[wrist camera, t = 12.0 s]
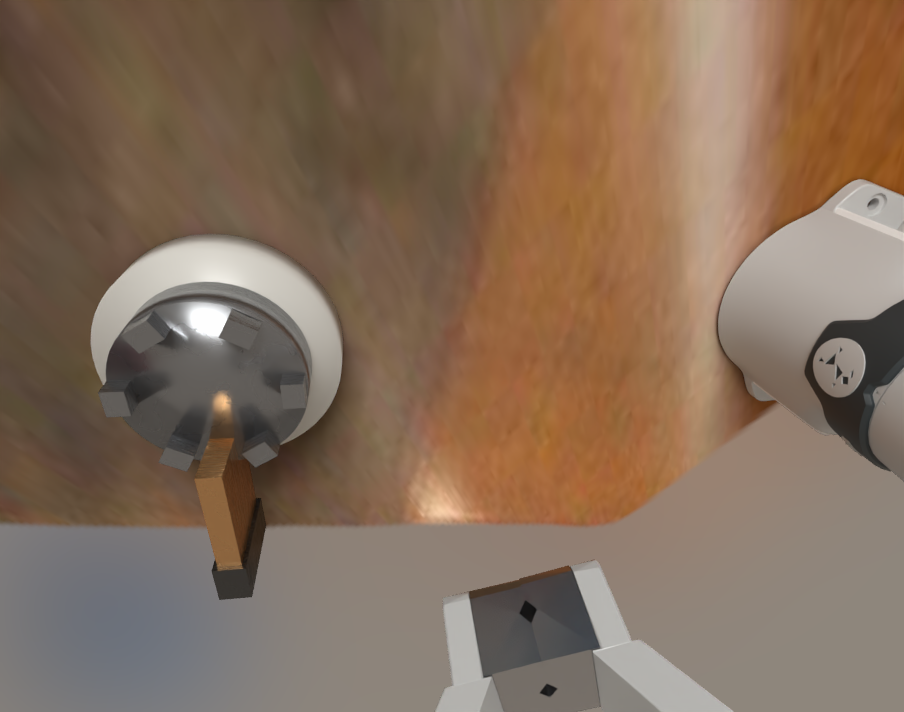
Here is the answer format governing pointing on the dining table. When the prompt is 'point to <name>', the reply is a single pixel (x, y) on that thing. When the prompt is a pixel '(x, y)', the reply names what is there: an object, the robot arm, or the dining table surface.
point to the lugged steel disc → (214, 403)
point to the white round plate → (239, 267)
